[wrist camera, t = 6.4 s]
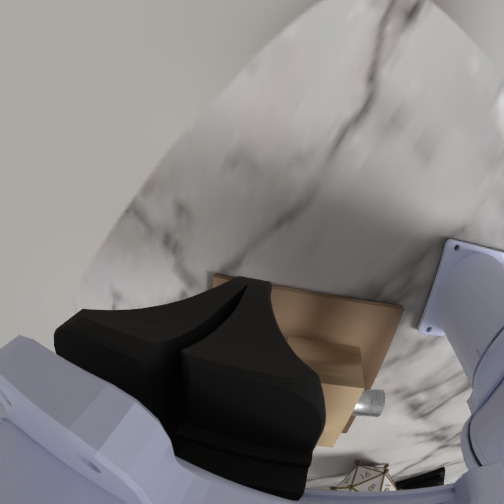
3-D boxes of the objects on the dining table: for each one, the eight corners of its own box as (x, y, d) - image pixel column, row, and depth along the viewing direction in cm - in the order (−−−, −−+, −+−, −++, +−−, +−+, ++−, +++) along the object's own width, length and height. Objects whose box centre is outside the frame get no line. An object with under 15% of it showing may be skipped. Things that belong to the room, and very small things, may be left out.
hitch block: (401, 305, 20) (419, 346, 15) (346, 428, 25) (344, 468, 20) (215, 274, 23) (186, 306, 18) (212, 403, 28) (195, 439, 23)
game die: (353, 450, 31) (305, 497, 26) (385, 438, 26) (332, 498, 20) (389, 482, 27) (346, 530, 22) (426, 475, 21) (380, 535, 16)
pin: (385, 370, 21) (391, 405, 17) (369, 401, 22) (372, 435, 18) (272, 353, 23) (261, 388, 19) (266, 386, 24) (255, 420, 20)
